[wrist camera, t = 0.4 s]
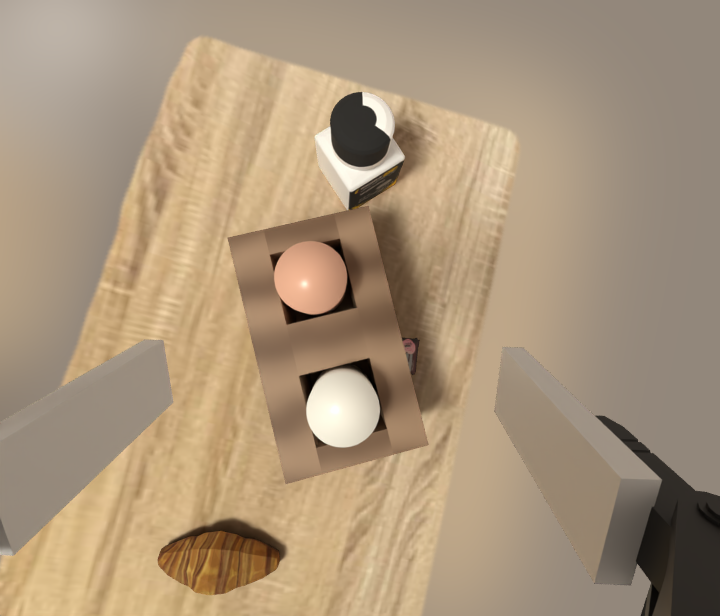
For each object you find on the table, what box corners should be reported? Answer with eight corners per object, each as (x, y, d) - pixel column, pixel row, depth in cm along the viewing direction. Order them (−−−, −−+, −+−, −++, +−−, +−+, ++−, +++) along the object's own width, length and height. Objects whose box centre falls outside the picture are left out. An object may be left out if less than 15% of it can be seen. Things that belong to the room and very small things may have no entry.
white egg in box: (377, 413, 38) (387, 436, 30) (321, 428, 38) (316, 456, 30) (364, 356, 39) (369, 365, 31) (307, 371, 38) (298, 383, 30)
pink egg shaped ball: (351, 307, 39) (354, 303, 31) (295, 321, 38) (283, 320, 30) (338, 252, 39) (337, 233, 31) (282, 265, 39) (266, 250, 31)
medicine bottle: (348, 213, 43) (351, 171, 31) (317, 165, 44) (308, 105, 32) (396, 184, 44) (416, 131, 32) (365, 136, 44) (374, 66, 32)
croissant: (284, 522, 41) (276, 549, 36) (279, 581, 41) (271, 617, 36) (167, 517, 41) (143, 544, 36) (161, 577, 40) (136, 612, 35)
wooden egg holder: (410, 419, 43) (428, 444, 34) (297, 449, 42) (285, 484, 33) (362, 230, 43) (368, 205, 34) (251, 256, 42) (227, 237, 34)
